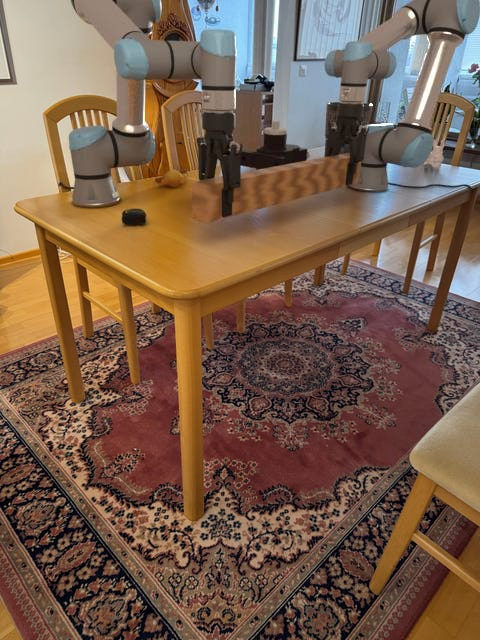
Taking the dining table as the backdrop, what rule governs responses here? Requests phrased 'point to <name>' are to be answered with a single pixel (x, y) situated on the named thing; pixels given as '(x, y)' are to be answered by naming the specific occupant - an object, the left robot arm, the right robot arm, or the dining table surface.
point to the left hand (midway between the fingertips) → (219, 212)
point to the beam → (272, 186)
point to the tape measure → (133, 216)
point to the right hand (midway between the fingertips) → (341, 182)
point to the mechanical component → (274, 150)
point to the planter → (332, 117)
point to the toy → (173, 178)
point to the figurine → (435, 156)
